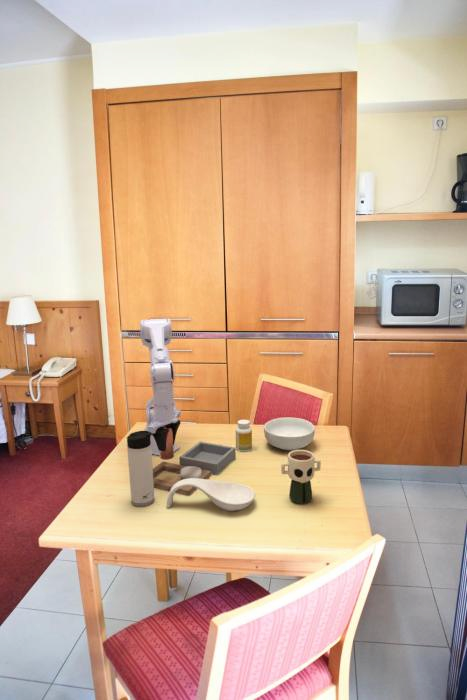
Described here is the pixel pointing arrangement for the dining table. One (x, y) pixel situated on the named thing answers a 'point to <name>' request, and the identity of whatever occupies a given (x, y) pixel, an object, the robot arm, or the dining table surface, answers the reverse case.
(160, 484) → the brown flat wooden frame
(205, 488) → the spoon rest
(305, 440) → the cereal bowl
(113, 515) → the dining table surface
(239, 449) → the supplement bottle
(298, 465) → the character mug
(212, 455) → the tray
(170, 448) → the reddish brown cylinder
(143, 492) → the travel mug
